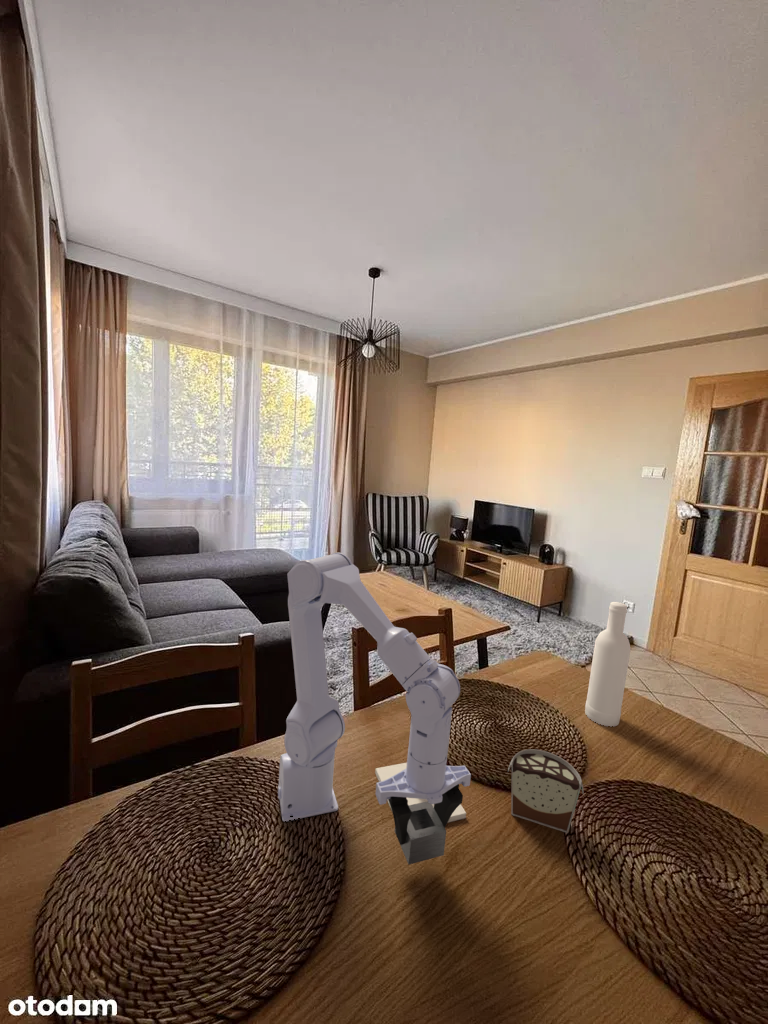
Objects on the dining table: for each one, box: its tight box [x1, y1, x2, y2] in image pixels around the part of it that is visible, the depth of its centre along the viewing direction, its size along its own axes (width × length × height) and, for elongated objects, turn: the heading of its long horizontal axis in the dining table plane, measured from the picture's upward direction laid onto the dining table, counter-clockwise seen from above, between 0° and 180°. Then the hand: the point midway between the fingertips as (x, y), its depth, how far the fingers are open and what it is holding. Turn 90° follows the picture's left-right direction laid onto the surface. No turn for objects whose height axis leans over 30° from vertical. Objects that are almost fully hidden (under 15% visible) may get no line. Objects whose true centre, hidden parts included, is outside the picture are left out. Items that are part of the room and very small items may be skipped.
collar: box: [394, 801, 447, 865], centre depth 64 cm, size 6×6×4 cm
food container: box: [507, 748, 585, 834], centre depth 76 cm, size 12×6×10 cm, turn 71°
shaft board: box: [374, 762, 467, 823], centre depth 78 cm, size 12×14×6 cm
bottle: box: [584, 601, 632, 728], centre depth 106 cm, size 8×8×30 cm
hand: (419, 833), depth 64 cm, fingers closed on collar, 6 cm apart
